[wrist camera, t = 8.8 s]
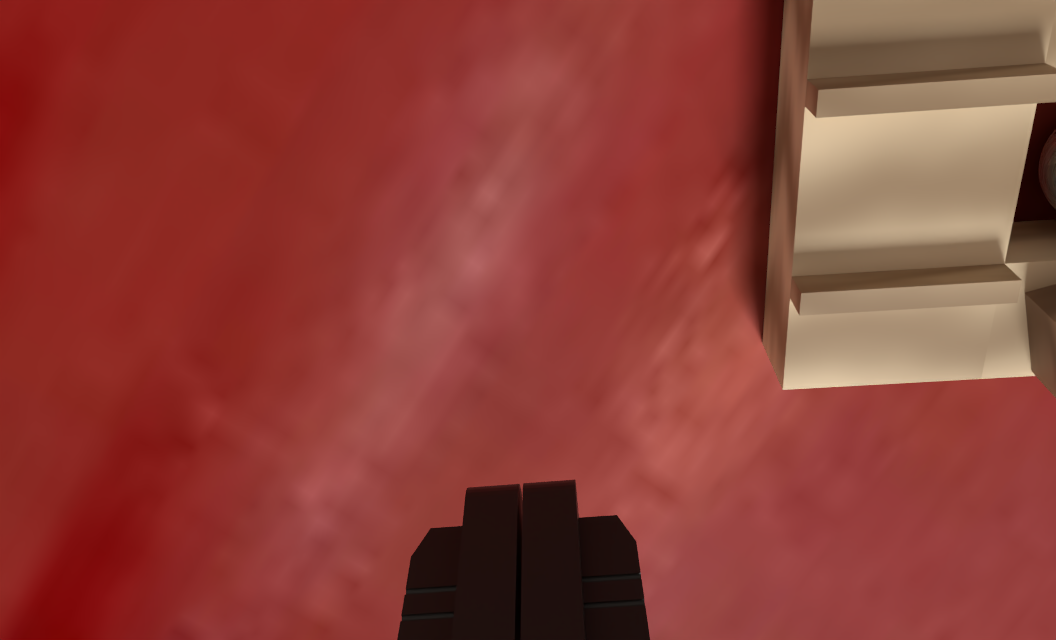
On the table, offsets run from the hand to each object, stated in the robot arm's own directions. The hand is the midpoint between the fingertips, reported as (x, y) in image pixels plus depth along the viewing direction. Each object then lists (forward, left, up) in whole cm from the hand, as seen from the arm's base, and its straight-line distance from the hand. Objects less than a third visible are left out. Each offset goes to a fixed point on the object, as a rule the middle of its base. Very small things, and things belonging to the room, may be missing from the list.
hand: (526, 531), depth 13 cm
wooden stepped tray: (+5, +19, -28) cm, 34 cm away
